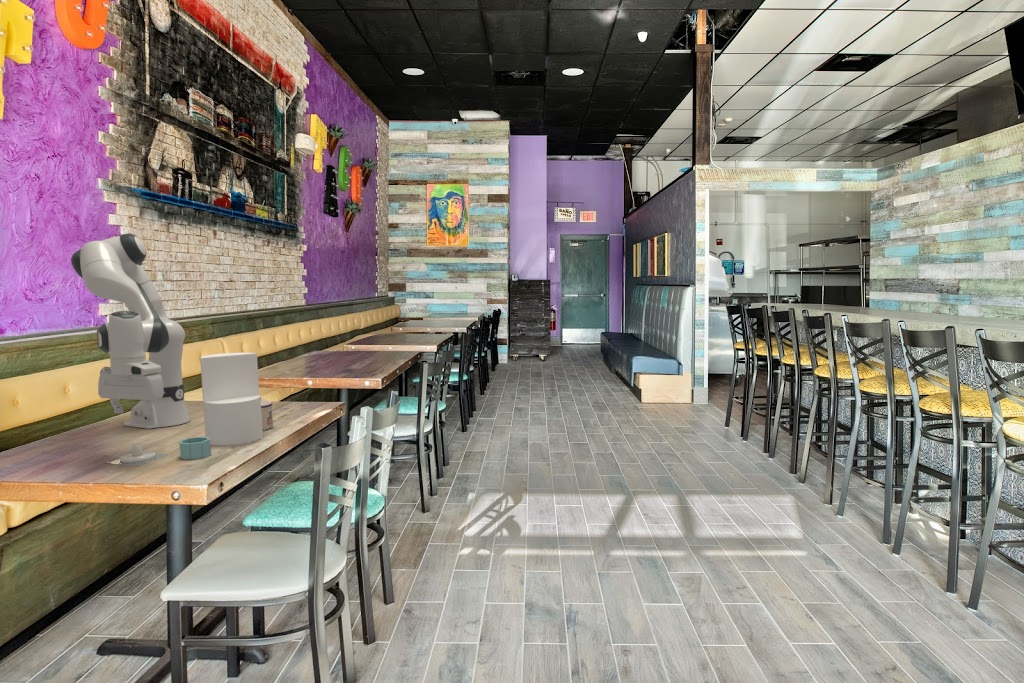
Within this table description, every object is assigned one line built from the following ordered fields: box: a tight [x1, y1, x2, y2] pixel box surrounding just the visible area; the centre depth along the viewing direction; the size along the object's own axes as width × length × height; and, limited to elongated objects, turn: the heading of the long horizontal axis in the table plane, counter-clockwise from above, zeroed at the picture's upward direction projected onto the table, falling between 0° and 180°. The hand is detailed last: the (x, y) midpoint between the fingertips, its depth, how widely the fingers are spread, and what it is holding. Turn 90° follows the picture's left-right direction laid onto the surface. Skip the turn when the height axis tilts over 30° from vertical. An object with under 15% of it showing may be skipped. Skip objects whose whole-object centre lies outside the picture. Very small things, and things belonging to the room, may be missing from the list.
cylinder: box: [199, 352, 264, 447], centre depth 202 cm, size 17×17×28 cm
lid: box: [119, 443, 156, 463], centre depth 181 cm, size 9×9×4 cm
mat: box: [118, 452, 171, 467], centre depth 181 cm, size 12×12×1 cm
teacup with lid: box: [261, 398, 274, 431], centre depth 219 cm, size 12×9×12 cm
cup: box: [179, 436, 212, 461], centre depth 183 cm, size 8×8×5 cm
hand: (132, 413), depth 179 cm, fingers open, 8 cm apart
